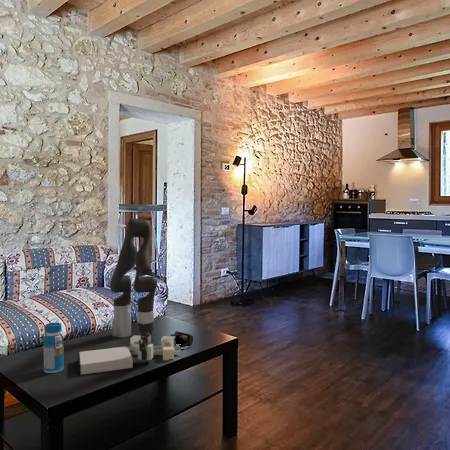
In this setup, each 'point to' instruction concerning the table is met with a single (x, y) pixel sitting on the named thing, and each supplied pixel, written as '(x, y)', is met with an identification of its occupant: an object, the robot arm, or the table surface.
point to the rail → (157, 350)
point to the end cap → (183, 339)
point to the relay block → (168, 353)
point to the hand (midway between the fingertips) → (145, 357)
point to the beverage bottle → (53, 348)
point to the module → (149, 352)
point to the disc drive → (104, 360)
